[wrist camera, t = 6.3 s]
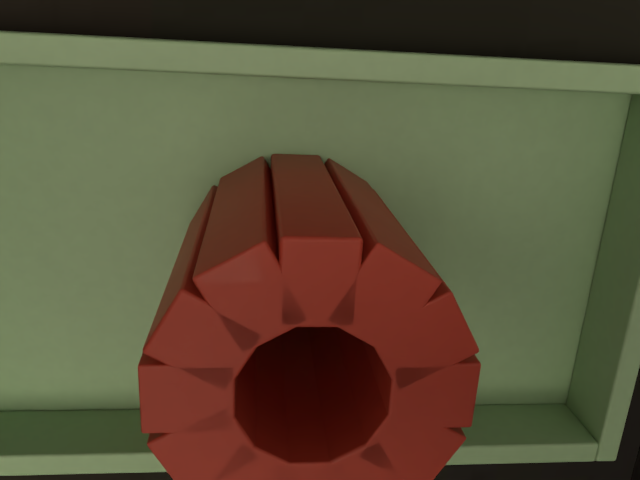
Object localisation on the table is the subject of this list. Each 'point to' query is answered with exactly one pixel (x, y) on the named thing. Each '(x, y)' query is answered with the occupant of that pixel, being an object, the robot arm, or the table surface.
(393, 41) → the table surface
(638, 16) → the table surface
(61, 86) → the box
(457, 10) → the table surface
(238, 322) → the red grooved hollow cylinder
